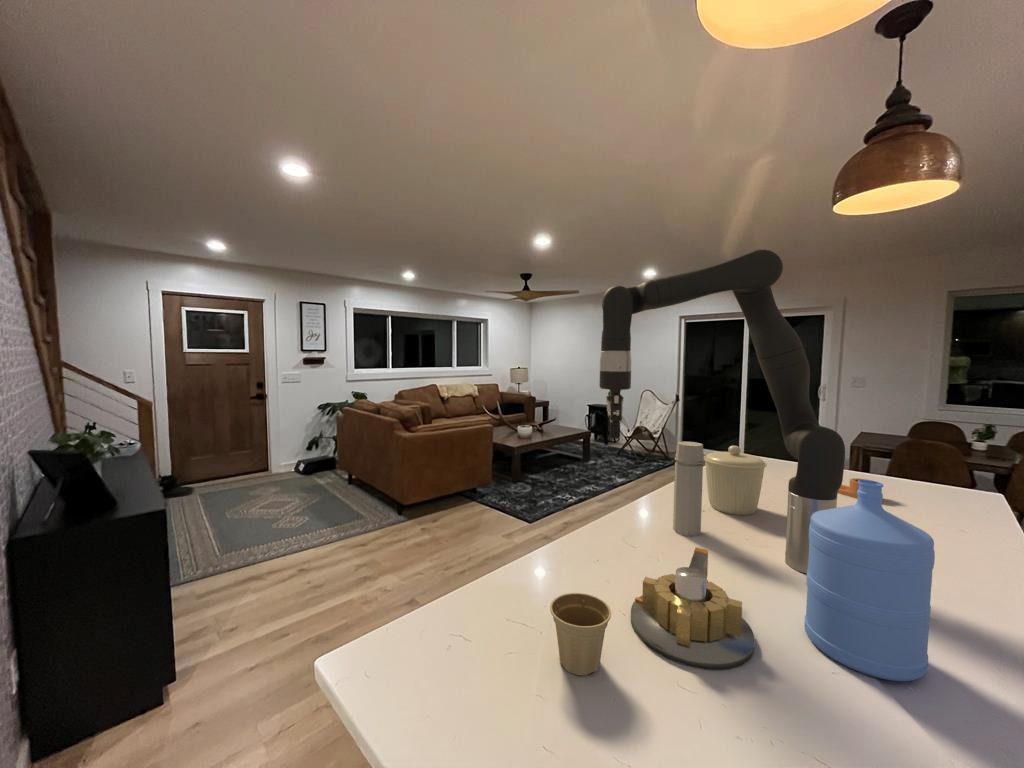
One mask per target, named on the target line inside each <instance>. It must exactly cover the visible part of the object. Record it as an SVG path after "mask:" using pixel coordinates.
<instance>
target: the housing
mask: <svg viewBox="0 0 1024 768" xmlns="http://www.w3.org/2000/svg"><path fill="white" fill-rule="evenodd" d="M675 574H676V582H675V595H676V596H677V597H678V598H681V599H684V600H687V601H689V602H698V603H703V602H706V582H707V580H708V579H707V578H708V575H707V576H706V574H705V573H703V572H702V571H700V570H698V569H694V568H690V567H689V566H688V567H687V566H682V567H678V568H676V570H675ZM642 596H643V594H642V595H640V596H638V597H637V596H636V597H635V598H634V601H633V603H632V605H631V606H630V607H631V608H630V623H631V624H630V625H631V627H632V630H633V631H634V633H635V635H636V636H637V638H638V639H640V641H642V643H644V644H645V645H646V646H647V647H648V648H650V649H651V650H652V651H654V652H655V653H657V654H659V655H660V656H663V657H664V658H666V659H668V660H669V661H670V660H671V661H672V662H675V663H678V664H681V665H684V666H687V667H692V668H695V669H701V670H709V671H727V670H732V669H736V668H740V667H742V666H743V665H745V664H747V663H748V662H749V661H750V660H751V659H752V658H753V655H754V653H755V642H756V641H755V634H754V631H753V629H752V628H751V626H750V624H749V623H748V622H747V620H745V619H744V618H743V617H742V621H741V637H739V636H736V635H732V634H729V633H726V635H725V637H724V636H723V638H721V639H717V640H714V641H709V640H708V639H707V642H706V641H698V640H691V642H690V646H686V645H683V644H680V643H676V634H674V633H672V632H670V630H666V629H665V628H664V627H663V626H662V625H661V624H660V623H658V622H657V619H655V616H654V612H653V611H651V610H648V609H644V608H642Z"/></svg>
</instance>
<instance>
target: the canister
mask: <svg viewBox="0 0 1024 768" xmlns="http://www.w3.org/2000/svg"><path fill="white" fill-rule="evenodd" d="M727 449H728V451H713V452H710V453H708V454H707V455H704V462H705V464H704V465H705V475H706V487H707V495H708V496H707V497H708V502H709V504H710V506H711V507H712V508H713V509H714V508H715V509H714V510H715V511H719V512H720V513H724V514H727V515H728V514H729V515H735V516H751V515H753V514H755V512H756V511H757V509H758V507H759V501H760V496H761V491H762V487H763V486H762V484H763V479H764V474H765V473H764V472H765V468H766V467H767V466H768V463H767V462H766V461H764V460H763V459H762V458H760V457H758V456H755V455H753V454H748V453H744V452H742V449H741V447H739V446H737V445H730V446H729V447H728V448H727Z"/></svg>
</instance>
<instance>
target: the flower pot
mask: <svg viewBox="0 0 1024 768" xmlns="http://www.w3.org/2000/svg"><path fill="white" fill-rule="evenodd" d="M549 609H550V613H551V616H552V618H553V621H554V624H555V630H556V640H557V647H558V656H559V662H560V664H561V665H562V666H563V668H564V669H565V671H567V672H568V673H571V674H572V675H576V676H588V675H589V674H592V673H596V672H597V671H598V670H599V668H600V666H601V659H602V652H603V646H604V638H605V633H606V629H607V627H608V624H609V622H610V620H611V618H612V610H611V607H610V606H609V604H608V603H607V602H605V601H604V600H603V599H602V598H599V597H597V596H596V595H592V594H589V593H584V592H583V593H582V592H568V593H564V594H560V595H558V596H557V597H555V598H554V599H552V601H551V602H550V606H549Z"/></svg>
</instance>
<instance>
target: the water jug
mask: <svg viewBox="0 0 1024 768" xmlns="http://www.w3.org/2000/svg"><path fill="white" fill-rule="evenodd" d="M869 480H870V479H867V480H858V484H859V489H858V490H857V494H858V499H857V501H856V503H854V504H852V505H851V504H850V505H845V506H840V507H837V508H833V509H827V510H821V511H817V512H815V513H814V514H812V516H811V523H810V526H809V540H810V543H809V564H808V571H807V574H806V586H807V589H806V609H805V610H806V612H805V615H804V632H805V634H806V635H807V638H808V639H809V640H810V641H811V643H812V644H814V646H816V648H818V649H819V650H820V651H821V652H822V653H824V654H825V655H826V656H828V657H829V658H830V659H832V660H834V661H836V662H837V663H838V664H841V665H843V666H845V667H847V668H849V669H852V670H854V671H857V672H860V673H862V674H865V675H867V676H871V677H874V678H876V679H877V678H878V679H883V680H888V681H893V682H894V681H895V682H909V681H910V682H912V681H915V680H919V679H921V678H922V677H924V676H925V675H926V674H927V672H928V668H929V655H928V648H929V647H928V646H929V630H930V623H931V611H932V610H931V607H932V606H931V598H932V594H931V593H932V586H933V585H932V582H933V570H934V568H935V567H934V566H935V559H936V557H935V556H936V555H935V554H936V553H935V552H936V551H935V540H934V539H933V537H932V536H931V535H930V533H927V531H925V530H923V529H921V528H919V527H917V526H916V525H914V524H912V523H910V522H908V521H906V520H904V519H902V518H900V517H899V516H897V515H894V514H893V513H891V512H889V511H886V509H884V508H883V497H884V494H883V487H884V484H883V483H882V482H879V481H876V480H872V481H869ZM875 481H876V482H875Z"/></svg>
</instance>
